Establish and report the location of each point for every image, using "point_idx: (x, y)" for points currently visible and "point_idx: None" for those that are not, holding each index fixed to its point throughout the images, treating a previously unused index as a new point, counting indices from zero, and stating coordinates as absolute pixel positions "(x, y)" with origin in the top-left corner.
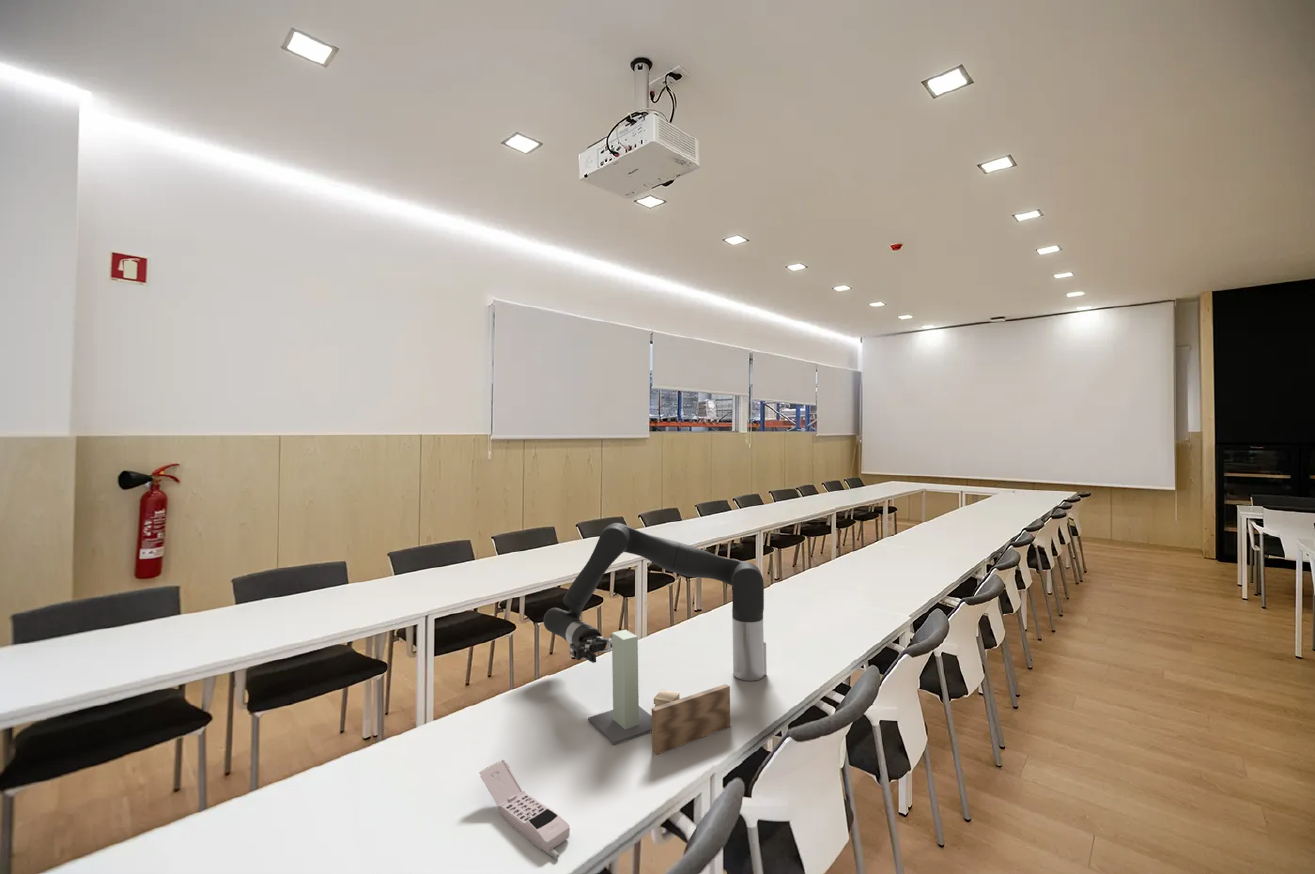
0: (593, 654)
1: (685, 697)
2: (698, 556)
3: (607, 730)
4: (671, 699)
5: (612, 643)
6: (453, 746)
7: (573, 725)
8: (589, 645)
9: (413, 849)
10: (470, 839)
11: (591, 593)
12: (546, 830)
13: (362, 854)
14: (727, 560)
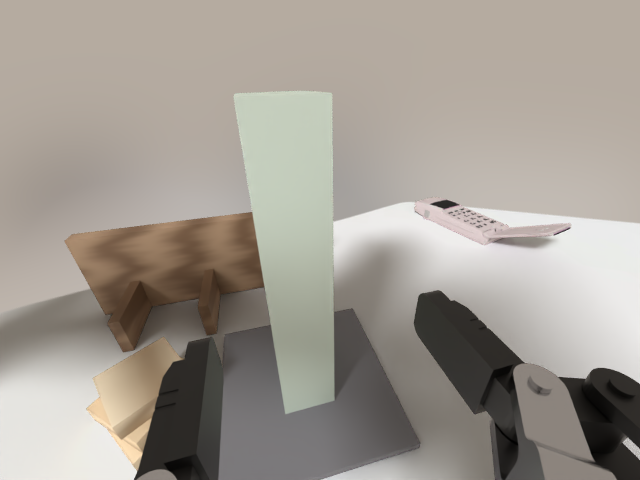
0: (438, 292)
1: (197, 223)
2: None
3: (359, 351)
4: (152, 348)
5: (331, 157)
6: None
7: (464, 425)
8: (534, 445)
9: (576, 224)
10: (518, 223)
11: None
12: (436, 199)
13: (634, 227)
14: None
